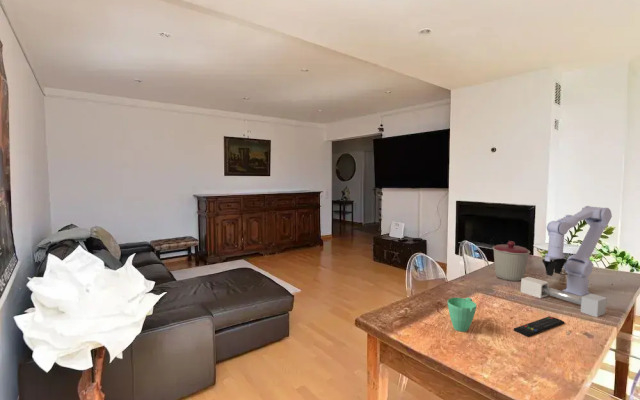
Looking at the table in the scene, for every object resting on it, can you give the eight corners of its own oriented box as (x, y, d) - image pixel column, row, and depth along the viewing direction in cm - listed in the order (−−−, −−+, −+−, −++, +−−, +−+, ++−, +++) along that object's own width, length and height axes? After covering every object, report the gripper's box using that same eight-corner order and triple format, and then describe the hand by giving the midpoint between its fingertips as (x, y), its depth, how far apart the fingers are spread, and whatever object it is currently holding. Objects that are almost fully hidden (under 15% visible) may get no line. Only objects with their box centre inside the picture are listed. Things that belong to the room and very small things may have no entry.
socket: (589, 308, 137) (590, 293, 136) (605, 313, 132) (606, 297, 131) (580, 311, 133) (581, 296, 132) (596, 317, 128) (598, 301, 128)
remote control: (513, 332, 116) (513, 328, 116) (549, 319, 127) (550, 315, 127) (528, 338, 112) (528, 334, 112) (564, 324, 122) (565, 321, 122)
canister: (528, 276, 179) (530, 240, 177) (528, 286, 164) (531, 246, 162) (492, 271, 188) (493, 236, 187) (489, 279, 173) (491, 242, 172)
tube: (538, 290, 152) (539, 283, 152) (595, 307, 133) (596, 299, 133) (534, 292, 151) (535, 284, 150) (591, 309, 131) (592, 301, 131)
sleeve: (527, 289, 158) (528, 276, 158) (547, 295, 150) (548, 282, 150) (520, 291, 155) (521, 278, 155) (540, 298, 147) (541, 284, 147)
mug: (470, 338, 110) (472, 310, 110) (442, 329, 117) (443, 303, 116) (481, 323, 121) (483, 298, 121) (455, 316, 128) (456, 292, 127)
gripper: (553, 243, 157) (551, 269, 158) (538, 246, 149) (536, 273, 151) (570, 246, 150) (568, 273, 152) (555, 249, 143) (553, 278, 144)
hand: (553, 274), depth 151 cm, fingers open, 7 cm apart
